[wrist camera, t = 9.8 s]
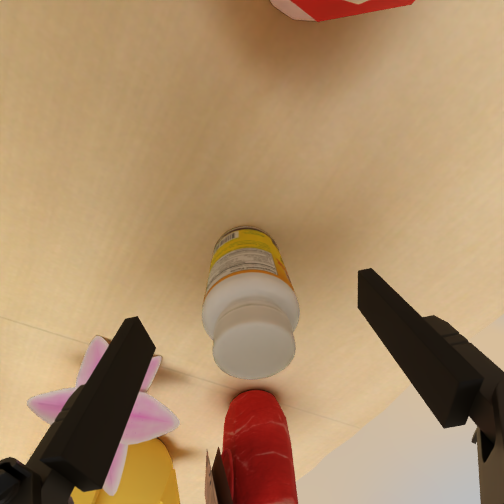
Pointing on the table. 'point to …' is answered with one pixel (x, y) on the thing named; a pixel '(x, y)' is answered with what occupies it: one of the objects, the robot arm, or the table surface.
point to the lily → (140, 421)
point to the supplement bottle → (250, 305)
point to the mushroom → (333, 8)
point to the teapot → (139, 479)
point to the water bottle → (253, 455)
